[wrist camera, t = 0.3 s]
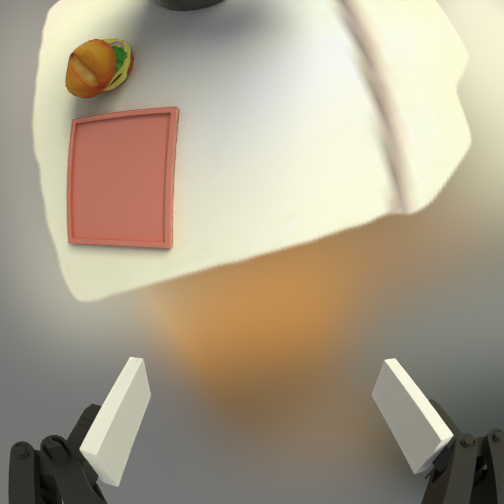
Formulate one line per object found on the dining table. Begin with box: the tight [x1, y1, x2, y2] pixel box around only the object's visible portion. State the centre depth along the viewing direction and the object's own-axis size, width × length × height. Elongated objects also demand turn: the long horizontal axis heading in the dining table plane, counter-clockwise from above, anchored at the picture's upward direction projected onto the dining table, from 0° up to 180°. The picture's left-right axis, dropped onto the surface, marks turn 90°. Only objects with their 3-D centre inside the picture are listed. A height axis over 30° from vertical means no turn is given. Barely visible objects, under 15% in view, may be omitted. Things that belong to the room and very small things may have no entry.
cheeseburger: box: [66, 39, 134, 98], centre depth 28 cm, size 10×11×10 cm
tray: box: [67, 107, 179, 248], centre depth 35 cm, size 20×18×2 cm
